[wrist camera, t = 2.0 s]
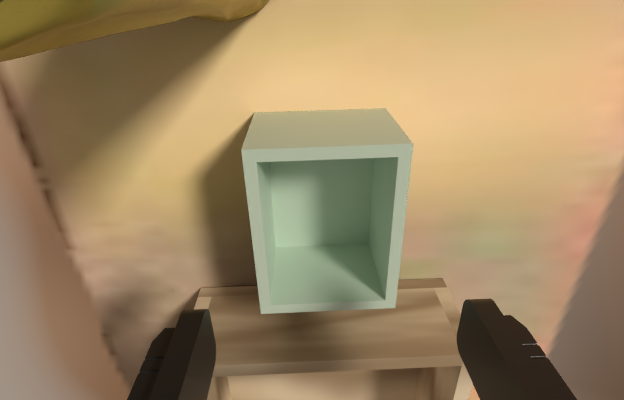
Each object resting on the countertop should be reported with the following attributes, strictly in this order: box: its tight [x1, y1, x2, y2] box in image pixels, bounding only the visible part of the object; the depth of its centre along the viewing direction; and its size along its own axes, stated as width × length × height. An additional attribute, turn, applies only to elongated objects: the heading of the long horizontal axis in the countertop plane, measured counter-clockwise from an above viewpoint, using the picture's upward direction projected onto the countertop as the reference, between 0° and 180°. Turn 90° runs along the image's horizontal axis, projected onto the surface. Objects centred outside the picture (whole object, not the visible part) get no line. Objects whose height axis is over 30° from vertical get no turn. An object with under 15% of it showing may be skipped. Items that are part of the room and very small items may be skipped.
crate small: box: [241, 108, 413, 314], centre depth 18 cm, size 8×6×5 cm
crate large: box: [194, 278, 473, 400], centre depth 24 cm, size 13×15×6 cm
